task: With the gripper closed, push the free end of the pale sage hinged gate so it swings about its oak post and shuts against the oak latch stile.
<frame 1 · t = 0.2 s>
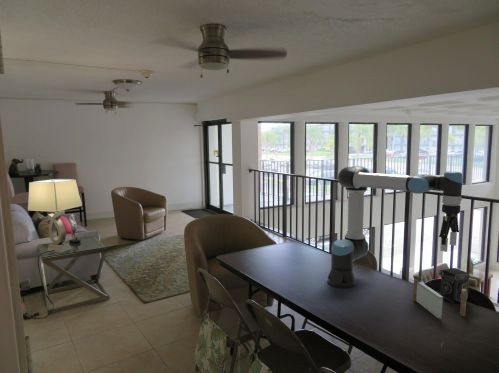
hand: (448, 248, 167), 28 cm above the table, fingers open, 13 cm apart
gate: (428, 298, 162), point 6 cm above the table, hinge at -40.0°
hinge post: (415, 300, 173), on the table
camera: (454, 300, 173), on the table
latch stile: (462, 315, 159), on the table
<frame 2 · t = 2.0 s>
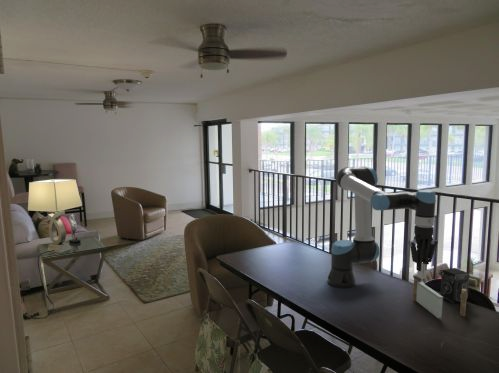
hand: (421, 277, 155), 18 cm above the table, fingers closed
nothing on the table moved.
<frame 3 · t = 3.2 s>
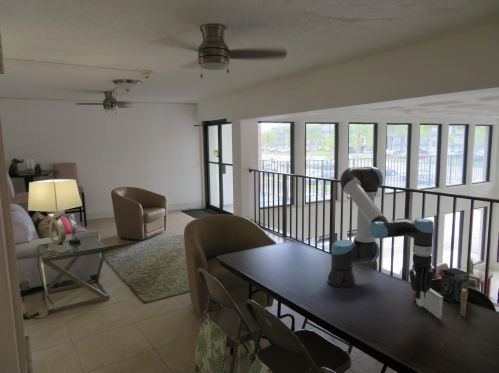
hand: (419, 305, 156), 6 cm above the table, fingers closed
nothing on the table moved.
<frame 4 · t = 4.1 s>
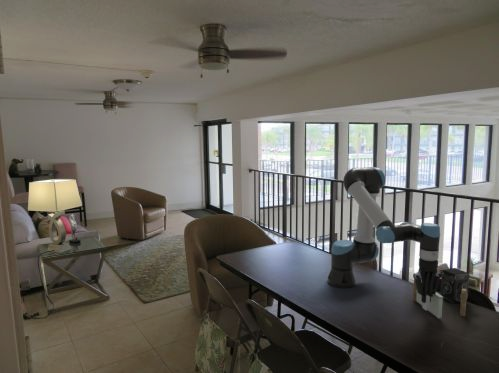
hand: (425, 309, 157), 4 cm above the table, fingers closed
gate: (428, 298, 162), point 6 cm above the table, hinge at -39.9°, touching gripper
everything else where it was.
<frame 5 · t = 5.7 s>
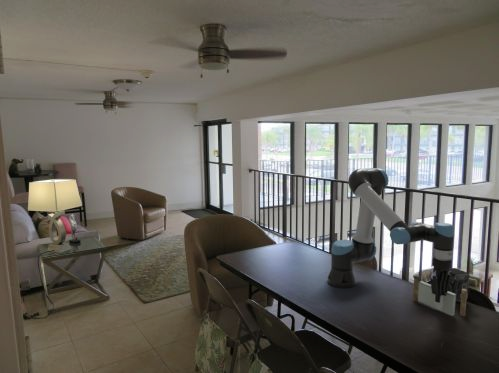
hand: (438, 308, 157), 4 cm above the table, fingers closed
gate: (436, 297, 163), point 6 cm above the table, hinge at -16.6°, touching gripper
everything else where it was.
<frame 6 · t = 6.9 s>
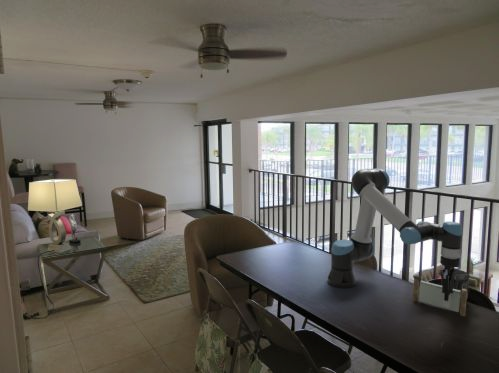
hand: (446, 306, 159), 4 cm above the table, fingers closed
gate: (439, 295, 165), point 6 cm above the table, hinge at 0.5°, touching gripper
everything else where it was.
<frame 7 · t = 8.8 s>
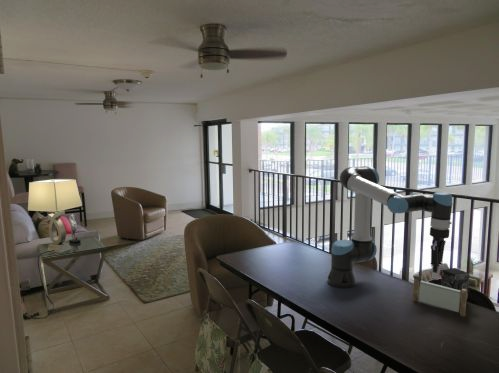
hand: (435, 278, 157), 17 cm above the table, fingers closed
gate: (439, 295, 165), point 6 cm above the table, hinge at 0.6°
everything else where it was.
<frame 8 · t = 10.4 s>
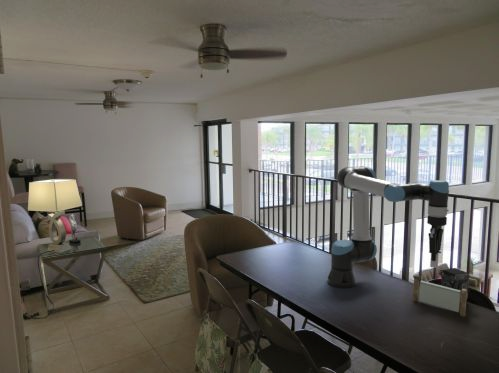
hand: (433, 267, 157), 22 cm above the table, fingers closed
nothing on the table moved.
at the end: gate at +1° (first picture: -40°); gate touching nothing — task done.
